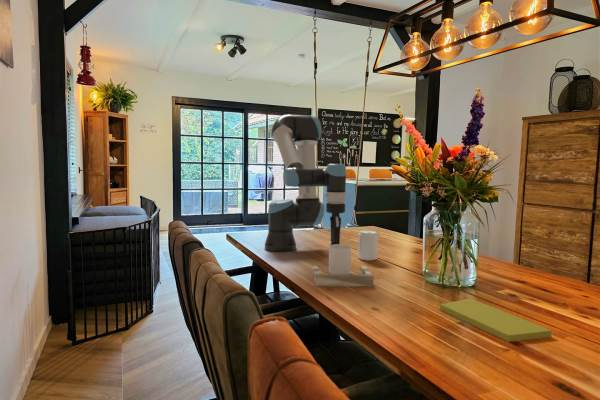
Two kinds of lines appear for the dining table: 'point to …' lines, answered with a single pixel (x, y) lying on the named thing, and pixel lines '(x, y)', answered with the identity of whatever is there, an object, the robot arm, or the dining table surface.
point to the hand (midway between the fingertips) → (334, 260)
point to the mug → (339, 259)
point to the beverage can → (368, 245)
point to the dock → (343, 278)
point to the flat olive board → (495, 320)
